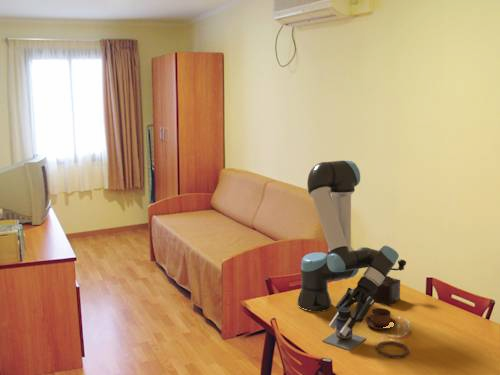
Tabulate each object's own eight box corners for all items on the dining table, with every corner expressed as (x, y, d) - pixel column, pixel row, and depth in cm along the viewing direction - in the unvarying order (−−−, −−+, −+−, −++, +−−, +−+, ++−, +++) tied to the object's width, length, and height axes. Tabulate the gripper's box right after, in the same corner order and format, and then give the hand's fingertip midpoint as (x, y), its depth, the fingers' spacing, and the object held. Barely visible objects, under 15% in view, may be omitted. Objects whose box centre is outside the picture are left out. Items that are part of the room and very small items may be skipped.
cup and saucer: (379, 335, 197) (379, 320, 196) (359, 323, 208) (359, 309, 207) (402, 328, 203) (402, 313, 202) (381, 317, 213) (382, 303, 212)
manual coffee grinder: (390, 306, 224) (391, 267, 221) (368, 300, 232) (369, 262, 229) (407, 296, 235) (408, 259, 232) (385, 290, 242) (386, 254, 239)
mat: (322, 341, 193) (322, 340, 193) (339, 330, 201) (339, 329, 201) (349, 351, 185) (349, 350, 185) (365, 339, 194) (365, 338, 194)
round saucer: (371, 351, 184) (371, 349, 184) (385, 340, 192) (385, 338, 192) (400, 361, 177) (400, 358, 176) (413, 349, 185) (413, 347, 185)
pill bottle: (352, 341, 189) (352, 313, 187) (335, 339, 191) (336, 312, 189) (352, 333, 195) (352, 306, 193) (336, 332, 197) (336, 305, 195)
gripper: (393, 294, 189) (358, 345, 184) (359, 279, 206) (327, 326, 201) (382, 283, 186) (347, 335, 181) (349, 269, 202) (316, 316, 197)
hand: (336, 330), depth 191 cm, fingers closed on pill bottle, 6 cm apart
